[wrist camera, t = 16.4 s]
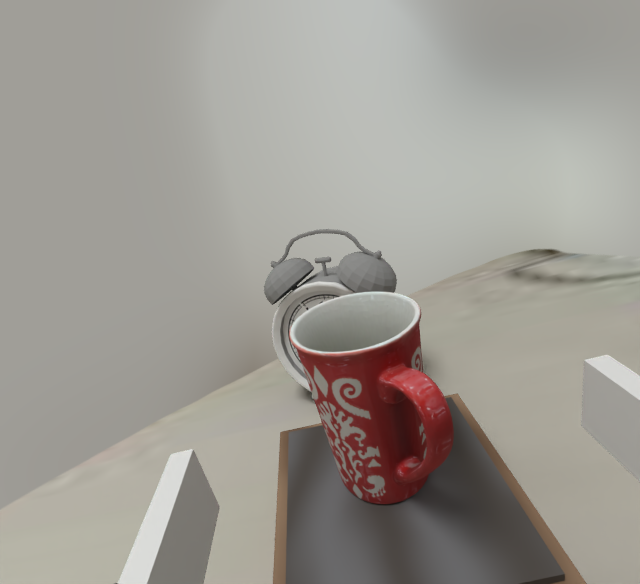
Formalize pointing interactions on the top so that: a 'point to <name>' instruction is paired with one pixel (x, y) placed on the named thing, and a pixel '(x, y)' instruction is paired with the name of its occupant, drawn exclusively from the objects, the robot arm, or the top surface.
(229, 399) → the top surface
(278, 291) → the alarm clock
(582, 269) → the top surface
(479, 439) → the walnut stand
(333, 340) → the mug
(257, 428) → the top surface
